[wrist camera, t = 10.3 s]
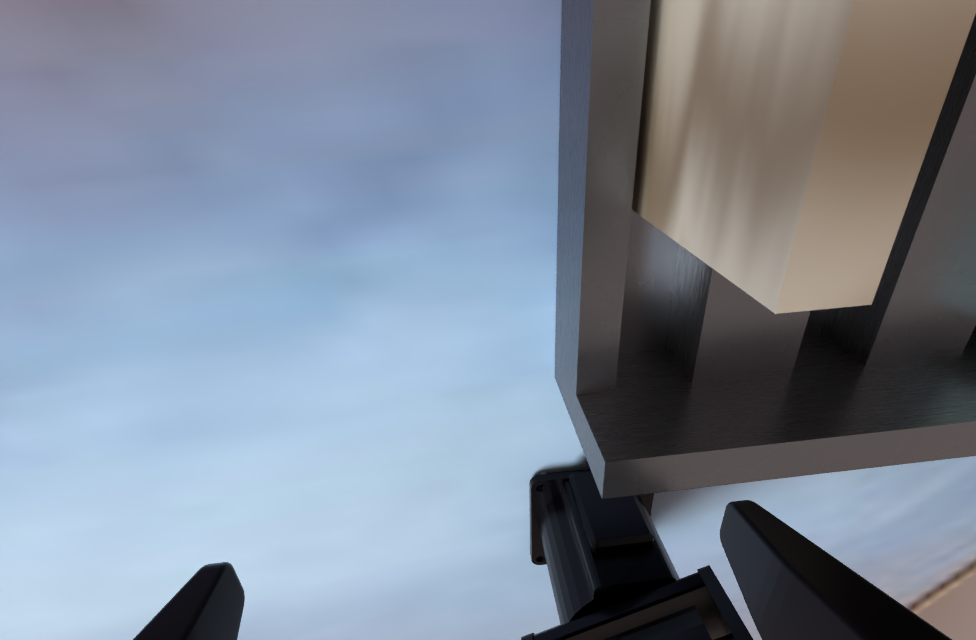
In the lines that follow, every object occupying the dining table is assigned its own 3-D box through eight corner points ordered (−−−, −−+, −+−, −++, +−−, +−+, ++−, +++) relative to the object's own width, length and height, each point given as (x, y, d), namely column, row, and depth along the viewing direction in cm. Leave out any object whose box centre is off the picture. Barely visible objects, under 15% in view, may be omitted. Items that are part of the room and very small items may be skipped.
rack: (964, 337, 23) (1155, 434, 17) (554, 377, 22) (602, 498, 16) (1305, -376, 13) (2097, -777, 7) (569, -379, 12) (721, -877, 5)
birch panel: (673, 196, 18) (871, 304, 10) (619, 200, 17) (775, 313, 9) (698, -2, 15) (1008, -79, 7) (634, 2, 15) (874, -74, 7)
